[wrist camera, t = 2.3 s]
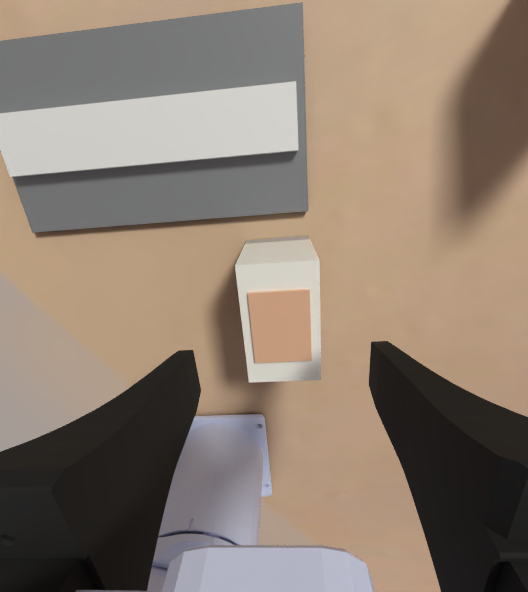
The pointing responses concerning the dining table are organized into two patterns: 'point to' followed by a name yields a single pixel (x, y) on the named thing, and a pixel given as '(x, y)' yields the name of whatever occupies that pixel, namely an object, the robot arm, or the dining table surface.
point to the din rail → (158, 120)
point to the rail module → (280, 309)
